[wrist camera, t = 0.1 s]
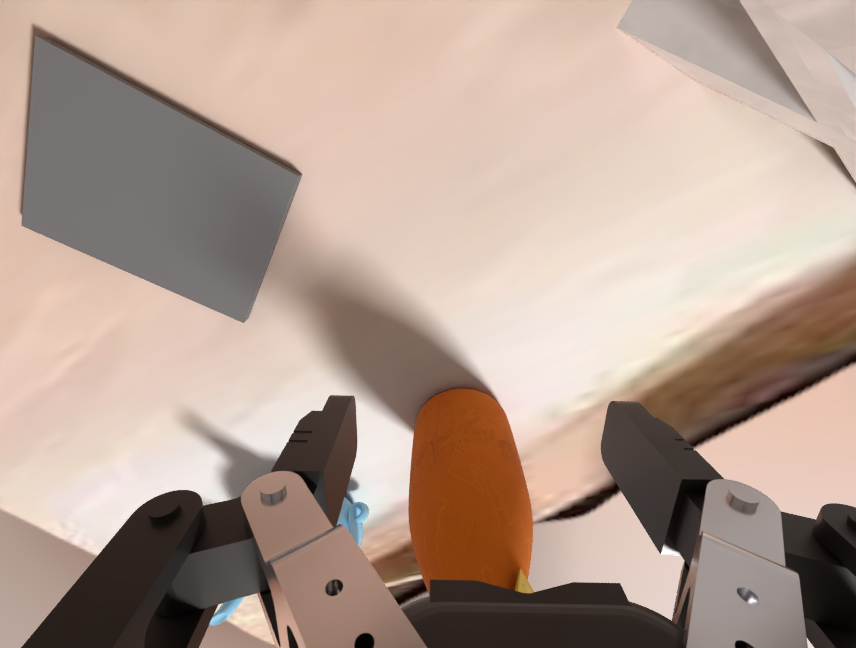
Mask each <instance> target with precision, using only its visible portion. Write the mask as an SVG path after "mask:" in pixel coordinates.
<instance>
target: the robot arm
mask: <svg viewBox="0 0 856 648" xmlns="http://www.w3.org/2000/svg"><path fill="white" fill-rule="evenodd" d="M356 451H357V425H356V406H355V398H354V396H334V395H331V396H329V398H328V400H327V402H326V404H325V406H324V408H323V410H322V411H311V412H310V413H309V414H307V415H306V416H305V417H303V418H302V419H301V420H300V421H299V423H298V425H297V426H296V428H295V430H294V433H292V435H291V437H290V439H289V442H287V444H286V446H285V448H284V449H283V451H282V453H281V455H280V457H279V458H278V460H277V462H276V464H275V465H274V467H273V469H272V471H271V473H268V474H265V475H263V476H260V477H259V478H257V479H255V480H254V481H252V482H251V483H250V484H249V485H248V486H247V487H246V488H245V489H244V491H243V493H242V496H241V497H239V498H236V499H232V500H228V501H223V502H219V503H214V504H209V505H205V506H203V503H202V499H201V497H200V496H199V494H197V493H196V492H193V491H189V490H177V491H172V492H168V493H165V494H162V495H159V496H157V497H155V498H153V499H151V500H149V501H148V502H146V503H145V504H143V505H142V506H140V507H139V508H138V509H137V510H136V511H135V512H134V513H133V514H132V515H131V516H130V518H129V519H128V520H127V521H126V522H125V524H124V525H123V526H122V527H121V528H120V530H119V531H118V532H117V533H116V534H115V536H114V537H113V538H112V539H111V540H110V542H109V543H108V544H107V545H106V546H105V548H104V549H103V550H102V551H101V552H100V554H99V555H98V556H97V557H96V558H95V560H94V561H93V562H92V563H91V564H90V566H89V567H88V568H87V569H86V571H85V572H84V573H83V574H82V575H81V577H80V578H79V579H78V580H77V581H76V583H75V584H74V585H73V586H72V587H71V589H70V590H69V591H68V592H67V593H66V595H65V596H64V597H63V598H62V599H61V601H60V602H59V603H58V604H57V606H56V607H55V608H54V609H53V610H52V611H51V613H50V614H49V615H48V616H47V618H46V619H45V620H44V621H43V622H42V623H41V625H40V626H39V627H38V628H37V630H36V631H35V632H34V633H33V634H32V635H31V637H30V638H29V639H28V640H27V641H26V643H25V644H24V645H23V646H22V647H21V648H199V646H200V644H201V641H202V639H203V637H204V635H205V632H206V630H207V628H208V626H209V624H210V621H211V619H212V617H213V615H214V612H215V610H216V608H217V606H218V604H221V603H224V602H228V601H231V600H235V599H238V598H242V597H245V596H249V595H252V594H255V593H257V594H258V597H259V600H260V603H261V606H262V608H263V611H264V614H265V617H266V620H267V623H268V626H269V628H270V631H271V634H272V637H273V640H274V643H275V646H276V648H808V647H807V639H806V637H807V638H808V640H809V641H810V642H811V644H812V645H813V646H814V647H815V648H856V508H855V507H852V506H848V505H843V504H826V505H824V506H823V507H822V508H821V510H820V513H819V515H818V517H817V519H816V520H815V519H811V518H806V517H802V516H797V515H793V514H789V513H785V512H780V510H779V508H778V507H777V505H776V504H775V503H774V502H773V501H772V500H771V499H770V498H769V497H767V496H766V495H765V494H763V493H762V492H760V491H758V490H756V489H754V488H752V487H750V486H748V485H746V484H743V483H740V482H737V481H732V480H727V479H724V478H723V477H721V475H720V474H719V473H718V472H717V471H716V470H715V469H714V468H713V467H712V466H711V465H710V464H709V463H708V462H706V460H704V458H703V457H702V456H701V455H700V454H699V453H698V452H697V451H694V450H693V447H692V446H691V445H690V444H689V443H688V442H687V441H684V438H683V437H682V436H681V435H680V434H679V433H678V432H677V431H676V430H675V429H674V428H673V427H671V426H669V425H668V424H666V423H664V422H663V421H661V420H659V419H658V418H654V417H653V416H652V415H651V414H650V413H649V412H648V411H647V410H646V409H645V408H644V407H643V406H642V405H641V404H640V403H639V402H636V401H612V402H610V404H609V406H608V409H607V415H606V420H605V425H604V431H603V436H602V441H601V454H602V459H603V461H604V464H605V466H606V467H607V469H608V470H609V472H610V474H611V475H612V477H613V478H614V480H615V482H616V483H617V485H618V486H619V488H620V490H621V491H622V493H623V495H624V496H625V498H626V499H627V501H628V502H629V504H630V506H631V507H632V509H633V511H634V512H635V514H636V515H637V517H638V519H639V520H640V522H641V524H642V525H643V527H644V528H645V530H646V532H647V533H648V535H649V536H650V538H651V539H652V541H653V543H654V544H655V546H656V547H657V549H658V551H659V552H660V554H661V555H681V556H682V557H683V559H684V564H683V567H682V570H681V575H680V580H679V585H678V590H677V596H676V601H675V607H674V612H673V617H672V621H671V620H669V619H668V618H666V617H664V616H662V615H661V614H659V613H657V612H655V611H653V610H650V609H648V608H646V607H643V606H641V605H638V604H635V603H632V602H629V601H628V599H627V597H626V595H625V593H624V591H623V589H622V587H621V585H620V583H576V582H575V583H574V582H573V583H569V584H565V585H562V586H557V587H553V588H550V589H546V590H542V591H538V592H534V593H522V592H518V591H514V590H511V589H507V588H503V587H499V586H495V585H492V584H488V583H484V582H480V581H474V580H430V596H429V597H425V598H421V599H418V600H416V601H413V602H411V603H409V604H407V605H405V606H403V607H402V608H400V607H399V605H398V604H397V602H396V601H395V599H394V598H393V596H392V595H391V593H390V592H389V590H388V589H387V587H386V586H385V584H384V583H383V581H382V580H381V578H380V577H379V575H378V574H377V572H376V571H375V569H374V568H373V566H372V565H371V563H370V562H369V560H368V559H367V557H366V556H365V555H364V553H363V552H362V550H361V549H360V547H359V546H358V544H357V543H356V541H355V540H354V538H353V537H352V535H351V534H350V532H349V531H348V529H347V528H346V527H345V526H344V525H343V524H339V525H337V522H338V519H339V515H340V511H341V508H342V504H343V501H344V497H345V494H346V490H347V486H348V483H349V479H350V476H351V472H352V469H353V465H354V461H355V458H356Z"/></svg>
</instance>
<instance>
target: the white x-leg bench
mask: <svg viewBox="0 0 856 648" xmlns="http://www.w3.org/2000/svg"><path fill="white" fill-rule="evenodd" d="M617 28H618V29H619V30H621V31H622V32H624V33H625V34H627V35H628V36H630V37H631V38H632V39H634V40H635V41H637V42H638V43H640V44H641V45H643V46H644V47H645V48H647V49H648V50H650V51H651V52H653V53H654V54H656V55H657V56H658V57H660V58H661V59H663V60H664V61H666V62H667V63H669V64H670V65H671V66H673V67H674V68H676V69H677V70H679V71H680V72H681V73H683V74H684V75H686V76H687V77H689V78H690V79H692V80H694V81H696V82H698V83H700V84H702V85H705V86H707V87H709V88H711V89H713V90H715V91H717V92H719V93H721V94H723V95H725V96H727V97H729V98H732V99H734V100H736V101H738V102H740V103H742V104H744V105H746V106H748V107H750V108H752V109H754V110H756V111H759V112H761V113H763V114H765V115H767V116H769V117H771V118H773V119H775V120H777V121H779V122H781V123H784V124H786V125H788V126H790V127H792V128H794V129H796V130H798V131H800V132H802V133H804V134H806V135H808V136H811V137H813V138H815V139H817V140H819V141H821V142H823V143H825V144H827V145H829V146H831V147H833V148H834V149H835V151H836V152H837V154H838V155H839V157H840V159H841V160H842V162H843V163H844V165H845V166H846V168H847V170H848V171H849V173H850V174H851V176H852V177H853V179H854V181H855V182H856V0H632V2H631V4H630V6H629V7H628V9H627V11H626V12H625V14H624V16H623V18H622V19H621V21H620V23H619V24H618V26H617Z"/></svg>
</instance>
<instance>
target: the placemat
mask: <svg viewBox="0 0 856 648" xmlns="http://www.w3.org/2000/svg"><path fill="white" fill-rule="evenodd" d="M301 176H302V174H300V173H298V172H296V171H295V170H293V169H291V168H289V167H287V166H285V165H283V164H282V163H280V162H278V161H276V160H274V159H272V158H270V157H269V156H267V155H265V154H263V153H261V152H259V151H257V150H255V149H254V148H252V147H250V146H248V145H246V144H244V143H242V142H241V141H239V140H237V139H235V138H233V137H231V136H229V135H227V134H226V133H224V132H222V131H220V130H218V129H216V128H214V127H213V126H211V125H209V124H207V123H205V122H203V121H201V120H200V119H198V118H196V117H194V116H192V115H190V114H188V113H186V112H185V111H183V110H181V109H179V108H177V107H175V106H173V105H172V104H170V103H168V102H166V101H164V100H162V99H160V98H159V97H157V96H155V95H153V94H151V93H149V92H147V91H145V90H144V89H142V88H140V87H138V86H136V85H134V84H132V83H131V82H129V81H127V80H125V79H123V78H121V77H119V76H117V75H116V74H114V73H112V72H110V71H108V70H106V69H104V68H103V67H101V66H99V65H97V64H95V63H93V62H91V61H90V60H88V59H86V58H84V57H82V56H80V55H78V54H76V53H75V52H73V51H71V50H69V49H67V48H65V47H63V46H62V45H60V44H58V43H56V42H54V41H52V40H50V39H48V38H44V37H39V36H35V42H34V56H33V70H32V85H31V99H30V113H29V127H28V141H27V155H26V169H25V183H24V198H23V212H22V226H24V227H26V228H28V229H30V230H33V231H35V232H37V233H40V234H42V235H44V236H46V237H49V238H51V239H53V240H56V241H58V242H60V243H62V244H65V245H67V246H69V247H71V248H74V249H76V250H78V251H81V252H83V253H85V254H87V255H90V256H92V257H94V258H97V259H99V260H101V261H103V262H106V263H108V264H110V265H113V266H115V267H117V268H119V269H122V270H124V271H126V272H129V273H131V274H133V275H135V276H138V277H140V278H142V279H145V280H147V281H149V282H151V283H154V284H156V285H158V286H160V287H163V288H165V289H167V290H170V291H172V292H174V293H176V294H179V295H181V296H183V297H186V298H188V299H190V300H192V301H195V302H197V303H199V304H202V305H204V306H206V307H208V308H211V309H213V310H215V311H218V312H220V313H222V314H224V315H227V316H229V317H231V318H234V319H236V320H238V321H240V322H243V323H244V322H245V321H246V320H247V319H248V318H249V315H250V313H251V310H252V307H253V304H254V302H255V299H256V296H257V294H258V291H259V288H260V286H261V283H262V280H263V278H264V275H265V272H266V270H267V267H268V264H269V262H270V259H271V256H272V254H273V251H274V248H275V246H276V243H277V240H278V238H279V235H280V232H281V230H282V227H283V224H284V222H285V219H286V216H287V214H288V211H289V208H290V206H291V203H292V200H293V198H294V195H295V192H296V190H297V187H298V184H299V182H300V179H301Z"/></svg>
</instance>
